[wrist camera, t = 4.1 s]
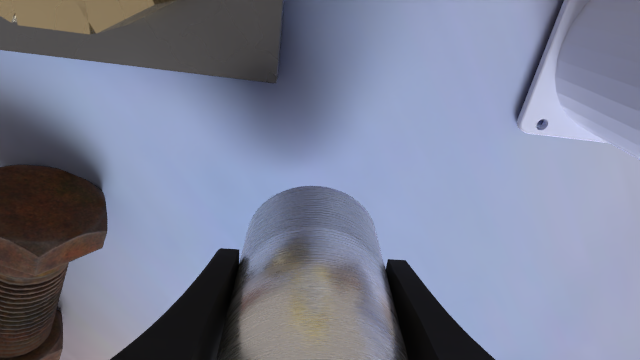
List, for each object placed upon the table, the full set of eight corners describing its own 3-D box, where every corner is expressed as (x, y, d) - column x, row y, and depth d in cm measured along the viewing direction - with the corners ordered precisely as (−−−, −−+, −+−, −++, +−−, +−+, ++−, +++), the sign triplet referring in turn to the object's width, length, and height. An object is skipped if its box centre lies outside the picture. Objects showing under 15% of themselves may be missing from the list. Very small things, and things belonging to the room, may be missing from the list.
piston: (388, 193, 14) (450, 369, 8) (363, 294, 16) (395, 491, 10) (249, 179, 13) (198, 352, 7) (244, 285, 16) (202, 483, 10)
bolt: (32, 328, 26) (71, 154, 20) (78, 381, 25) (136, 214, 19) (-83, 389, 21) (-81, 181, 15) (-31, 458, 20) (-4, 266, 13)
